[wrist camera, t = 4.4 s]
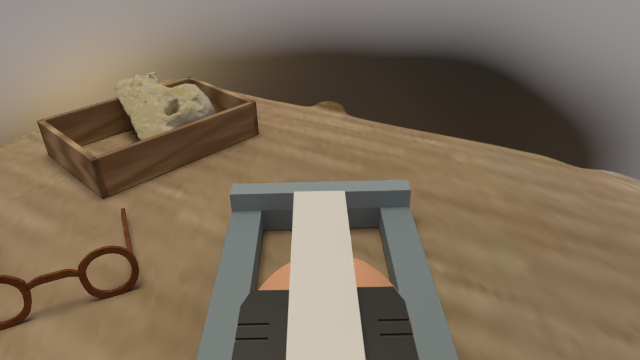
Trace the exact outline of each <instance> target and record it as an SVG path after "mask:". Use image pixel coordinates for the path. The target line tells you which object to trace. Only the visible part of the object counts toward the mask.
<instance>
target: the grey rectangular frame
mask: <svg viewBox="0 0 640 360" xmlns="http://www.w3.org/2000/svg"><path fill="white" fill-rule="evenodd" d="M300 191H345V197H346V205H347V213H348V222H349V228H372V227H379V230H380V235H381V240H382V245H383V249H384V254H385V259H386V264H387V268H388V273H389V278H390V282H391V284H392V285H393V286H394V287H395V288H396V290H397V291H398V293H399V294H400V295H401V297H402V298H403V299H404V300H405V303H406V307H407V310H408V313H409V316H410V319H411V323H412V329H413V335H414V340H415V345H416V349H417V353H418V357H419V360H459V359H458V356H457V353H456V350H455V346H454V343H453V340H452V337H451V334H450V331H449V328H448V325H447V322H446V319H445V315H444V312H443V309H442V306H441V303H440V300H439V297H438V294H437V291H436V287H435V284H434V281H433V278H432V275H431V272H430V269H429V266H428V263H427V260H426V256H425V253H424V250H423V247H422V244H421V241H420V238H419V235H418V232H417V228H416V225H415V222H414V219H413V216H412V213H411V210H410V207H409V206H410V196H411V188H410V185H409V183H408V180H373V181H333V182H293V183H254V184H232V188H231V191H230V200H231V208H232V213H231V217H230V221H229V226H228V230H227V234H226V238H225V242H224V246H223V251H222V255H221V259H220V263H219V267H218V272H217V276H216V280H215V284H214V288H213V292H212V297H211V301H210V305H209V309H208V313H207V318H206V322H205V326H204V330H203V334H202V338H201V343H200V347H199V351H198V355H197V359H196V360H232V354H233V348H234V342H235V336H236V329H237V326H238V324H237V323H238V317H239V311H240V306H241V304H242V303H243V302H244V300H245V299H246V297H247V296H248V294H249V293H250V292H251V290H256V283H257V276H258V268H259V261H260V253H261V245H262V238H263V230H292V223H293V202H294V192H300Z"/></svg>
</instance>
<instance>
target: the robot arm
mask: <svg viewBox="0 0 640 360" xmlns="http://www.w3.org/2000/svg"><path fill="white" fill-rule="evenodd" d="M237 324H238V326H237V329H236V336H235V342H234V348H233V354H232V360H419V357H418V353H417V349H416V345H415V340H414V337H413V332H412V328H411V324H410V322H409V315H408V311H407V307H406V303H405V300H404V299H403V298H402V297H401V295H400V294H399V293H398V292H397V290H396V289H395V288H394V287H393V286H389V287H357V286H356V278H355V270H354V262H353V254H352V246H351V238H350V230H349V222H348V213H347V205H346V197H345V191H300V192H294V202H293V223H292V244H291V265H290V285H289V290H251V292H250V293H249V294H248V296H247V297H246V299H245V300H244V302H243V303H242V304H241V306H240V311H239V317H238V323H237Z"/></svg>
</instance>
